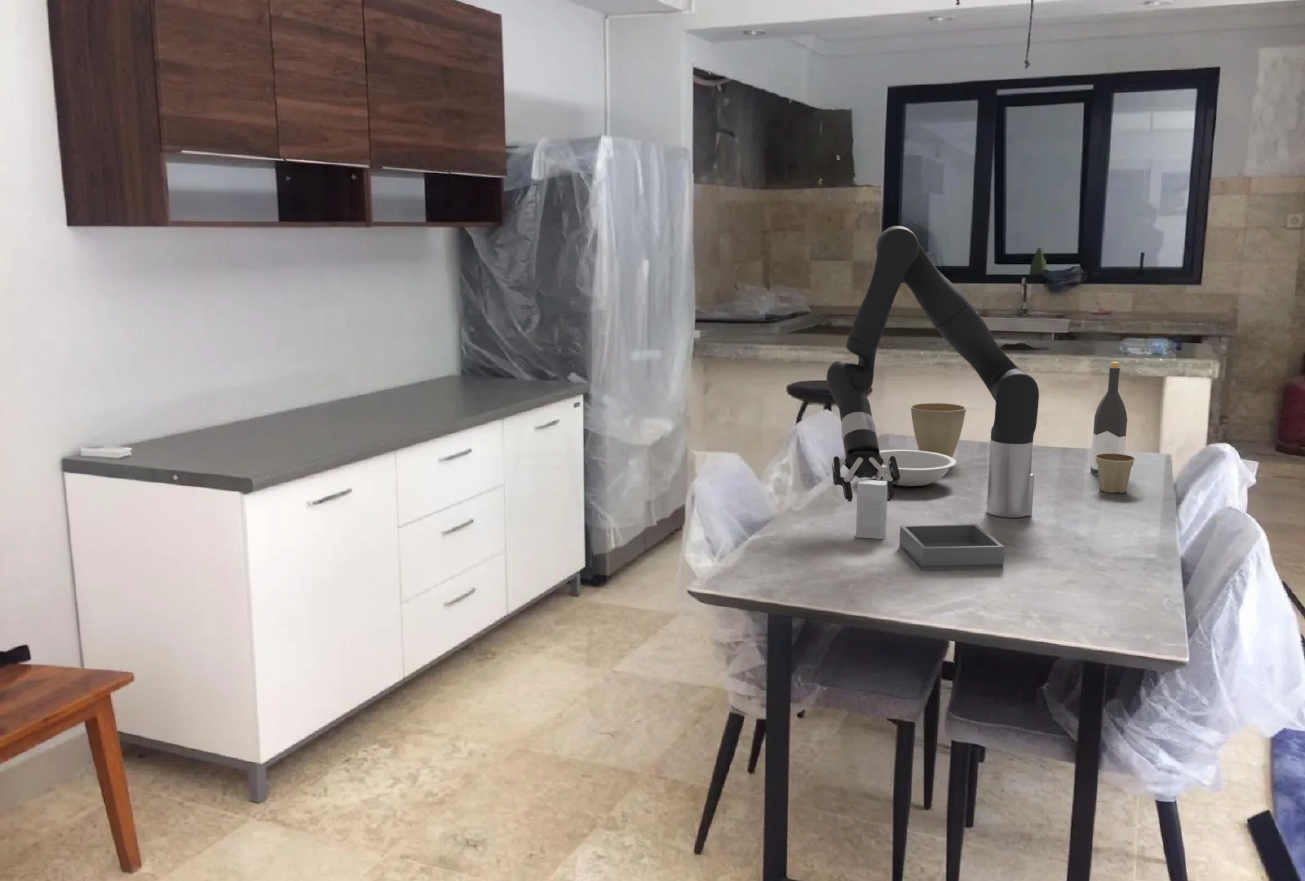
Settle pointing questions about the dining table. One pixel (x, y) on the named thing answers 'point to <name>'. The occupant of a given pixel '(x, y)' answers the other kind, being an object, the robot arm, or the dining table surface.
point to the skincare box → (871, 509)
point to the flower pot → (1114, 471)
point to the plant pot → (938, 426)
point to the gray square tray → (951, 547)
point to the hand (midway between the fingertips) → (870, 499)
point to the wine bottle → (1109, 421)
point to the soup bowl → (918, 466)
